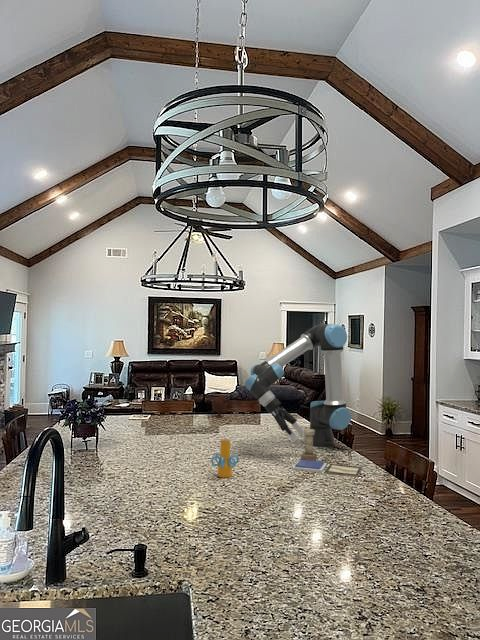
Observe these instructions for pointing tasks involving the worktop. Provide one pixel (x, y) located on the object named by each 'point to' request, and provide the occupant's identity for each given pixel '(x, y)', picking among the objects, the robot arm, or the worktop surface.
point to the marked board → (343, 470)
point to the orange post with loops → (225, 460)
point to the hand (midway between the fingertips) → (299, 436)
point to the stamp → (309, 446)
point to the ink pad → (310, 466)
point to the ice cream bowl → (219, 405)
